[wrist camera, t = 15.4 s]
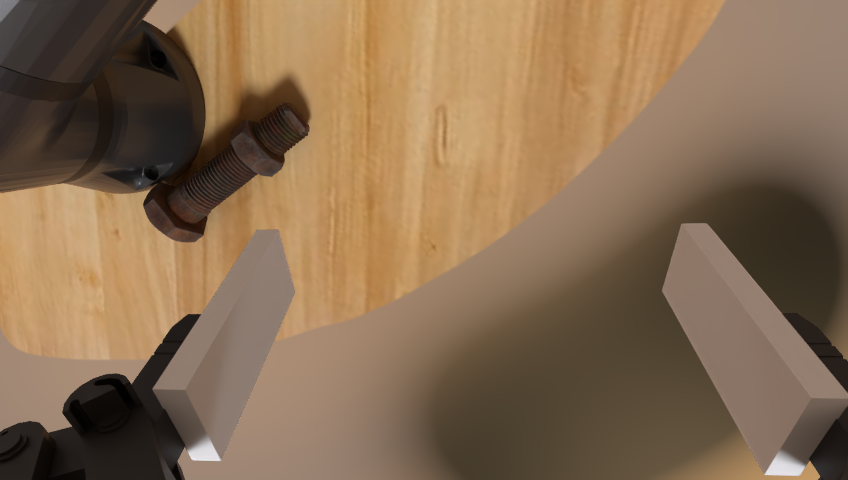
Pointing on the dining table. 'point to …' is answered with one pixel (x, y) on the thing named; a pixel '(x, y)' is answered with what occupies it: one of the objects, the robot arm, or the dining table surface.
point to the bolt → (225, 173)
